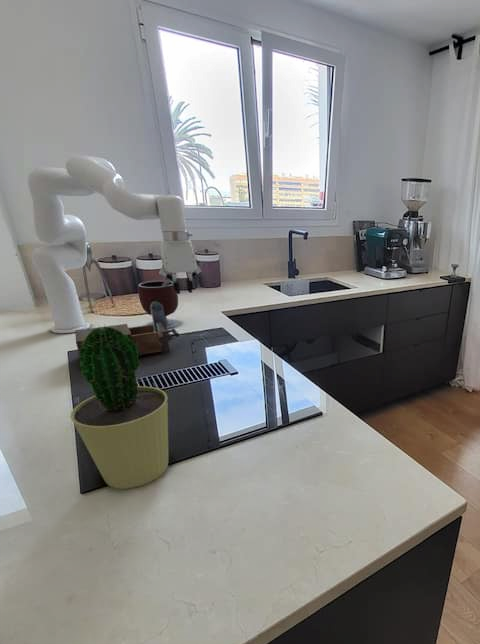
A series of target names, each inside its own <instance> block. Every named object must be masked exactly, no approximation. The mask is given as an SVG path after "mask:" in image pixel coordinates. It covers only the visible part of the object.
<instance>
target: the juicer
mask: <svg viewBox="0 0 480 644" xmlns="http://www.w3.org/2000/svg"><path fill="white" fill-rule="evenodd" d="M92 253H93V252H92V248H91V245H90V243H89V242H87V260H86V264H85V265H84V266H83V267H82V273H83V274H82V275H83V281H84V287H85V292H86V297H87V302H88V306H89V309H90V312H91V313H93V312H94V310H93V305H92V300H91V295H90V289H89V283H88V276H87V270H88V271H89V272H91V269H92V265H95V267H96V269H97V270H98V273H99V275H100V276H101V278H102V281H103V283H104V285H105V288H106V290H107V293H108V296H109V299H110V303H111V305H112V304H114V305H112V308H115V302H114V299H113V296H112V293H111V289H110V287H109V284H108V281H107V279H106V277H105V275H104V272H103V270H102V268H101V266H100V263H98V260H97V259H96V258H95V257H94V258H93V254H92Z"/></svg>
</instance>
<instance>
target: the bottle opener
mask: <svg viewBox="0 0 480 644" xmlns="http://www.w3.org/2000/svg"><path fill="white" fill-rule="evenodd" d="M150 309H151V314H152V315H151V318H152V322H153V325H154V332H158V328H157V323H161V324H162V326H163V327H164V329H165V330H166V331H168V329H167V327H166V321H165V316H164V310H163V306H162V305H161V303H160V302H158V301H154V302H152V303H151V306H150ZM167 335H170V332H168V333H167ZM158 336H159V334H158ZM167 338H168V340H172V339H173V338H172V336H171V337H167ZM159 342H160V339H159Z"/></svg>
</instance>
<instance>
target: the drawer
mask: <svg viewBox="0 0 480 644" xmlns="http://www.w3.org/2000/svg"><path fill="white" fill-rule="evenodd" d="M128 328H129V330H130V332H131V335H132V340H133V343H134V344H135V345H136V347H137V350H138V351H137V352H139V353H138V356H140V355H141V356H142V355H146V354H147V355H149V354H154V353H160V352H162V348H163V350H164V351H165V352H166V353H170V352H171V349H170V344H169V339H168V338H167V337H171V338H172V337H175V338H179V336H180V333H179V332H178V330H177V329H176V328H175V327H174V328H171V329H167V331H166V330H165V329H164V327H163V326H162V324H161V323H157V328H158V332H155V330H154V327H153V325H147V324H146V325H139V326H138V325H137V326H132V327H128ZM168 332H169V334H170V333H171V334H170V335H167V333H168ZM158 334H159V336H158ZM159 339H160V341H159ZM136 341H137V342H138V343H137V342H136ZM140 343H141V344H140ZM137 344H138V345H137ZM161 347H162V348H161Z"/></svg>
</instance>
